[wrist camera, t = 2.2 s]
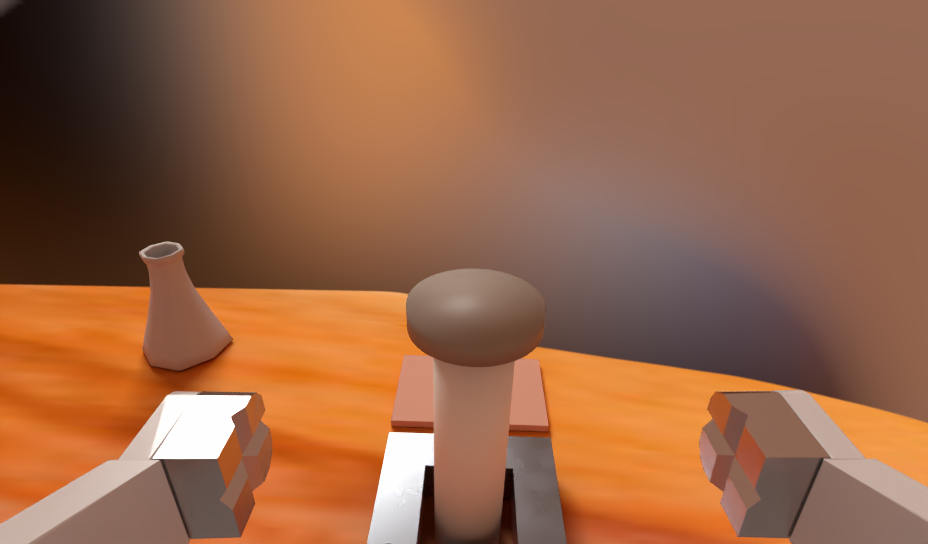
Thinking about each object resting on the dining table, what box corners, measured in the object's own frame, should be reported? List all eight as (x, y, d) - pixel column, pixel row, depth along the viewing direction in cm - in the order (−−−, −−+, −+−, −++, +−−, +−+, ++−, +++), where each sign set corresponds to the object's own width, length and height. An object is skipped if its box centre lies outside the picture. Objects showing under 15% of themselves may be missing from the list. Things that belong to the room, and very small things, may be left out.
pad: (391, 426, 41) (391, 420, 40) (404, 360, 48) (404, 355, 47) (547, 431, 41) (548, 425, 40) (537, 364, 48) (538, 359, 47)
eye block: (361, 629, 28) (356, 596, 27) (391, 462, 38) (389, 432, 36) (569, 637, 28) (576, 605, 26) (546, 468, 38) (550, 437, 36)
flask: (248, 339, 50) (226, 244, 45) (176, 383, 45) (144, 280, 40) (199, 316, 53) (175, 225, 48) (127, 354, 48) (91, 255, 43)
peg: (409, 587, 30) (397, 341, 22) (420, 491, 36) (414, 266, 27) (522, 591, 30) (554, 346, 22) (515, 495, 36) (538, 270, 27)
